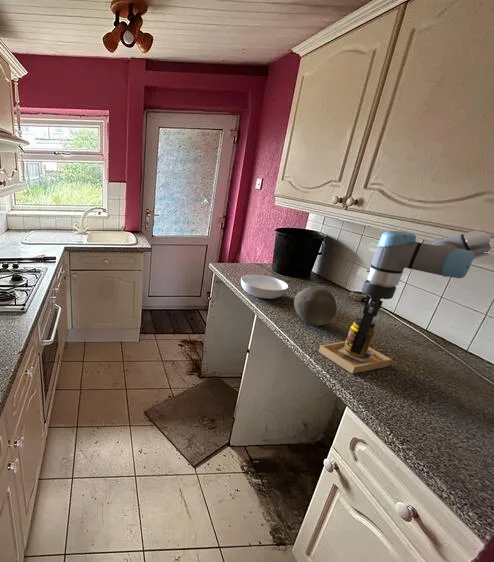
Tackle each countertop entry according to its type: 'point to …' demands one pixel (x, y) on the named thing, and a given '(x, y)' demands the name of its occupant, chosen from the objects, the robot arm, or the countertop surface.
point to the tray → (351, 363)
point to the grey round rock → (315, 305)
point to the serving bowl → (263, 286)
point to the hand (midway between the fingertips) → (356, 348)
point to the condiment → (350, 339)
